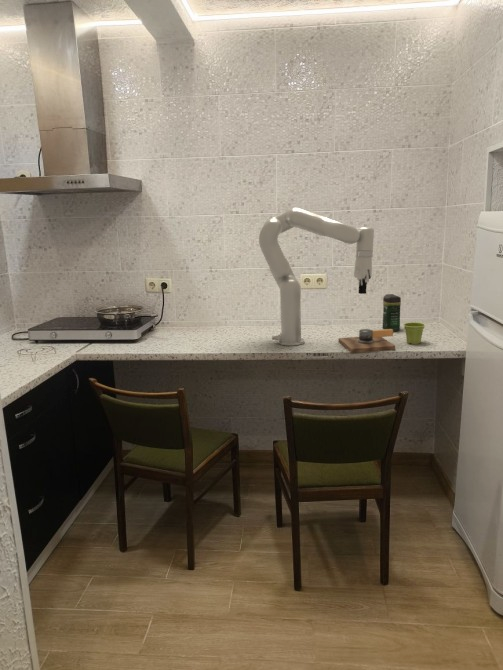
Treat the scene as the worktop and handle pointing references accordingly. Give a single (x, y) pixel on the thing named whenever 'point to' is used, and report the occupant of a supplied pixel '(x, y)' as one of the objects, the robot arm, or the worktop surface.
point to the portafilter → (374, 334)
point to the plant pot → (414, 332)
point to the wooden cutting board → (366, 344)
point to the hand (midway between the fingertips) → (362, 293)
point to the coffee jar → (391, 312)
